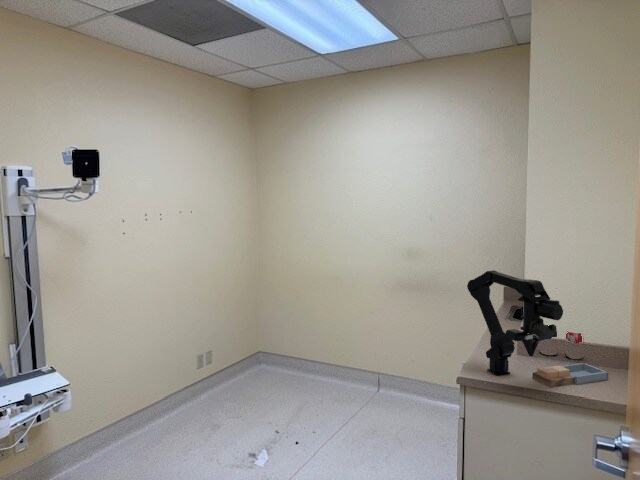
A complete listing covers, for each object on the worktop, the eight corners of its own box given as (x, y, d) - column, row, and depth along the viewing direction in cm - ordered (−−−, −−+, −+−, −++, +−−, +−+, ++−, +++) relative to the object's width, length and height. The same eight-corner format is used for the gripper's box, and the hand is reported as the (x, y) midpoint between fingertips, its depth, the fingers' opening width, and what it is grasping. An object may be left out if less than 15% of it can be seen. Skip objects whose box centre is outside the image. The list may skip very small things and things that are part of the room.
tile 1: (547, 378, 163) (547, 373, 163) (537, 374, 168) (537, 368, 168) (558, 377, 165) (558, 371, 164) (547, 372, 169) (547, 367, 169)
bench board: (550, 387, 161) (550, 380, 161) (532, 378, 170) (532, 372, 170) (574, 383, 164) (574, 377, 164) (555, 375, 173) (555, 369, 173)
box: (576, 384, 163) (577, 377, 163) (553, 374, 174) (553, 367, 174) (608, 379, 168) (608, 372, 167) (583, 370, 178) (583, 362, 178)
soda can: (585, 361, 188) (586, 333, 187) (567, 360, 189) (568, 333, 189) (579, 355, 195) (579, 329, 194) (561, 355, 196) (562, 328, 196)
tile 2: (559, 377, 165) (559, 371, 164) (548, 372, 169) (548, 366, 169) (569, 375, 166) (569, 369, 166) (559, 370, 171) (559, 365, 171)
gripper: (526, 322, 152) (526, 366, 153) (569, 317, 157) (568, 360, 159) (504, 314, 163) (504, 356, 164) (545, 310, 168) (544, 350, 169)
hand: (530, 355), depth 164 cm, fingers closed
